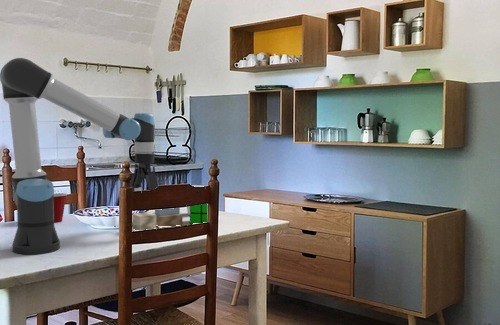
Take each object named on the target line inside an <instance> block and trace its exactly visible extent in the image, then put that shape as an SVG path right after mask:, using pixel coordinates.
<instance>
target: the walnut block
mask: <svg viewBox="0 0 500 325" xmlns="http://www.w3.org/2000/svg"><path fill="white" fill-rule="evenodd" d="M152 213H153V214H155V212H152ZM155 215H156V225H158V226H176V225H182V226H183V214H181V213H180V214H173V215H163V216H159V215H157V214H155Z"/></svg>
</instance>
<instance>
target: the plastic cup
mask: <svg viewBox="0 0 500 325" xmlns="http://www.w3.org/2000/svg"><path fill="white" fill-rule="evenodd" d="M67 196H68V193H66V192H65V193H64V192H63V193H62V192H61V193H54V224H57V223H61V222H62V221H63V219H64V218H63V217H64V214H65V213H64V210H65V206H66V205H65V204H66V199H67Z"/></svg>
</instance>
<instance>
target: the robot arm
mask: <svg viewBox="0 0 500 325" xmlns="http://www.w3.org/2000/svg"><path fill="white" fill-rule="evenodd" d="M0 83H1V87H2V96H3V100H4V101H5V102H6V103H7V104H8V108H9V118H10V127H11V128H10V129H11V138H12V147H13V155H14V166H15V172H14V174H13V175H12V176H11V181H12V182H11V183H12V200H13V202H14V204H15V205H16V210H17V211H16V212H17V214H16V215H17V217H16V218H17V219H16V220H17V228H16V231H15V235H14V238H13V241H12V247H11V248H12V252H13V253H15V254H20V255H22V254H23V255H38V254H40V255H41V254H47V253H51V252H55V251H58V250H59V249H60V247H61V241H60V238H59V235H58V233H57V230H56V227H55V223H54V194H55V189H54V183H53V182H52V181H51V180H48V178H47V176H48V175H47V172H45V171H44V170H43V169H42V161H41V152H40V141H39V133H38V122H37V121H38V119H37V110H36V102H37V101H38V100H40V99H44V100H47V101H48V102H50V103H52V104H54V105H57V106H58V107H60V108H62V109H63V110H66V111H67V112H70V113H72V114H74V115H76V116H78V117H80V118H82V119H84V120H86V121H88V122H89V123H92V124H94V125H96V126H98V127H100V128H102V135H103V137H104V138H107V139H120V140H121V139H122V140H126V141H132V140H134V152H135V153H134V162H135V163H134V171H133V176H132V181H131V186H133V188H134V189H133V190H134V191H141V192H142V183H143V181H144V179H145V182H146V185H147V188H148V191H149V190H153V189H155V188H156V187H158V188H159V185H158V181H157V175H156V168H155V166H152V164H153V163H154V162H155V153H153V152H155V146H156V145H155V118H154V117H155V116H154V114H152V113H146V112H145V113H142V112H141V113H140V112H139V113H135V114H134V116H133V117H132V118H129V117H127V116H125V115H123V114H122V113H119V112H118V111H116V110H114V109H112V108H111V107H108V106H107V105H105V104H103V103H102V102H99V101H97V100H95V99H93V98H91V97H90V96H88V95H86V94H84V93H82V92H80V91H79V90H77V89H75V88H73V87H71V86H69V85H67V84H65V83H63V81H60V80H58V79H56V78H55V77H54V74H53V73H52V72H50V71H47V70H46V69H44V68H43V67H41V66H40V65H37V63H35V62H33V61H31V60H30V59H27V58H25V57H24V58H23V57H16V58H13V59H11V60H9V61H8V62H6V63H5V64H4V65H3V66H2V68H1V70H0ZM134 191H133V192H134Z"/></svg>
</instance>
